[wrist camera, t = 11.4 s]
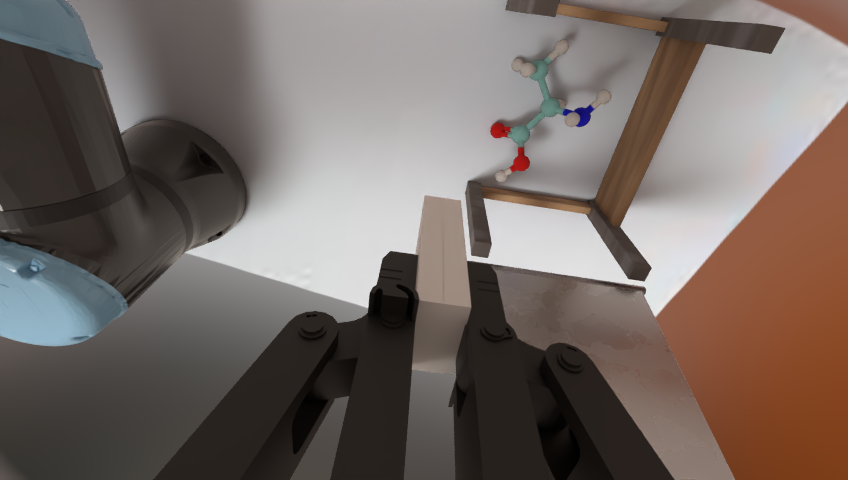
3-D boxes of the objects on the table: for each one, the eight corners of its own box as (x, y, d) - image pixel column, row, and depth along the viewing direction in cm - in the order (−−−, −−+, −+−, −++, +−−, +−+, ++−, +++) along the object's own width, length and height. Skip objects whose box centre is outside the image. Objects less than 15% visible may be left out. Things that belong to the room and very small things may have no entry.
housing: (465, 192, 46) (471, 255, 35) (509, -9, 36) (539, -15, 24) (595, 212, 47) (644, 281, 35) (678, 20, 36) (785, 27, 25)
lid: (470, 259, 35) (468, 265, 35) (481, 570, 18) (477, 573, 19) (643, 284, 35) (639, 290, 36) (808, 610, 19) (796, 612, 19)
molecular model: (469, 45, 35) (542, 91, 29) (551, 23, 38) (633, 61, 32) (463, 152, 44) (519, 204, 38) (531, 127, 46) (592, 173, 40)
